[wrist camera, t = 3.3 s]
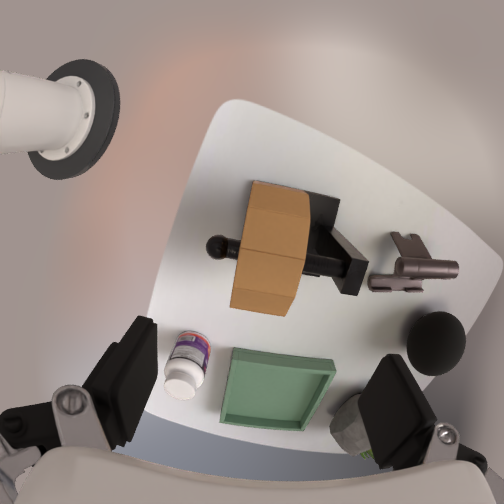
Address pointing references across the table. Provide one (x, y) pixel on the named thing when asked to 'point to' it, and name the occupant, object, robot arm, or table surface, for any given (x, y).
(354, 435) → the potted plant
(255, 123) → the table surface
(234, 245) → the hook rack
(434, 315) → the decorative ball
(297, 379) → the tray
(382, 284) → the tablet stand
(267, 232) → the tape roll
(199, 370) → the pill bottle
